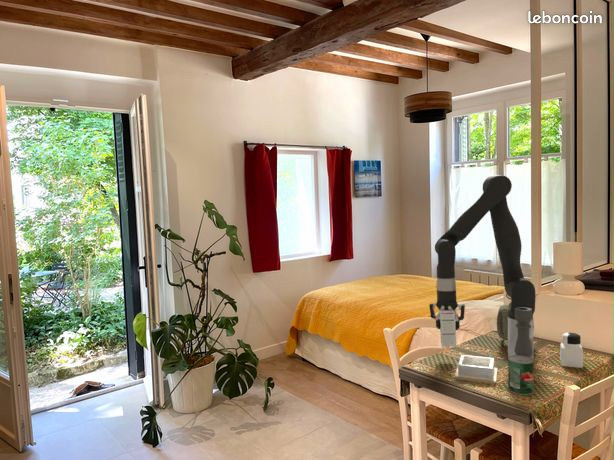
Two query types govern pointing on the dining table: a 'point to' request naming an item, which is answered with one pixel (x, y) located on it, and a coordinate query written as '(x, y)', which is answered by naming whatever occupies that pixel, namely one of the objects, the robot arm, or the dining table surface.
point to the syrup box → (447, 328)
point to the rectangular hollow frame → (476, 369)
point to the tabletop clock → (503, 321)
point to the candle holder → (523, 331)
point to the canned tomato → (520, 375)
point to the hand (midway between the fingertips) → (447, 329)
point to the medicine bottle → (571, 351)
